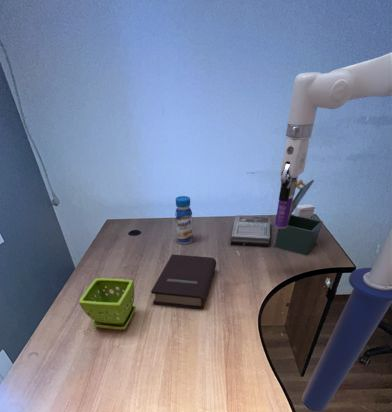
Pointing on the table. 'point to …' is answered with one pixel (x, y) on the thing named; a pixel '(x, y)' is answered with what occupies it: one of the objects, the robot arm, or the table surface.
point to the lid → (300, 193)
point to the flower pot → (109, 303)
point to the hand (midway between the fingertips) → (286, 197)
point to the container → (285, 208)
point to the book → (184, 282)
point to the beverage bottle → (184, 220)
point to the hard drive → (251, 231)
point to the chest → (298, 234)
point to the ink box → (304, 211)
